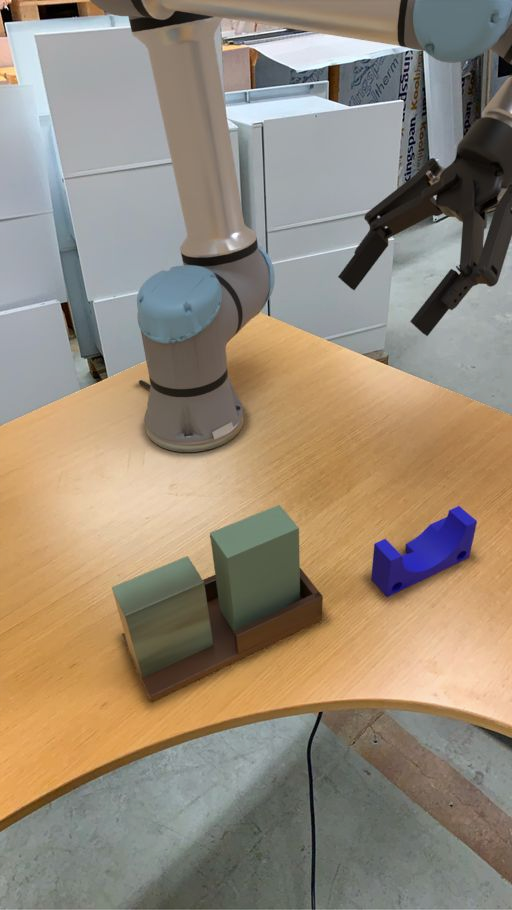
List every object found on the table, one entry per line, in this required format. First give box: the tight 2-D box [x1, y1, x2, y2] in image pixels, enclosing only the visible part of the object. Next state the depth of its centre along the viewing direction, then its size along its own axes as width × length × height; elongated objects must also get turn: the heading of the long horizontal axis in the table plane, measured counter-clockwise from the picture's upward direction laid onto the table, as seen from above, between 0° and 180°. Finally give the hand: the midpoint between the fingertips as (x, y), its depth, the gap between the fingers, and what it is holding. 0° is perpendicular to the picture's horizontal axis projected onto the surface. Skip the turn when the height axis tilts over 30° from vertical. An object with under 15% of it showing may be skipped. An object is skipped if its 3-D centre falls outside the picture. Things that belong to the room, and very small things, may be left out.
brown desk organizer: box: [111, 555, 324, 703], centre depth 68 cm, size 9×20×11 cm, turn 118°
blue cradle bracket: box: [370, 505, 478, 598], centre depth 76 cm, size 12×4×6 cm, turn 118°
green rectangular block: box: [209, 504, 301, 631], centre depth 69 cm, size 4×8×12 cm, turn 118°
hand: (379, 305), depth 73 cm, fingers open, 13 cm apart
